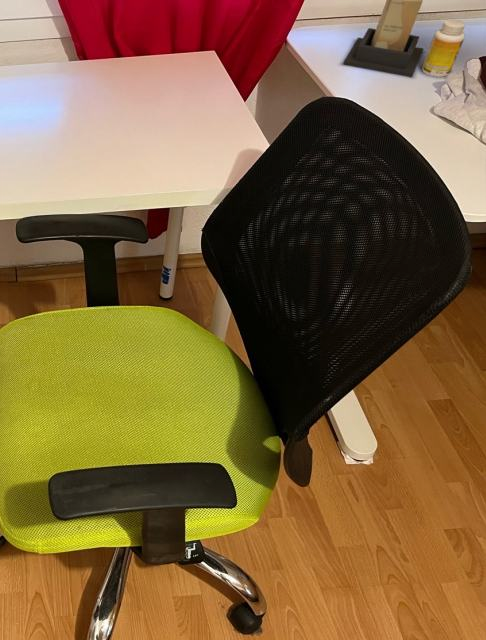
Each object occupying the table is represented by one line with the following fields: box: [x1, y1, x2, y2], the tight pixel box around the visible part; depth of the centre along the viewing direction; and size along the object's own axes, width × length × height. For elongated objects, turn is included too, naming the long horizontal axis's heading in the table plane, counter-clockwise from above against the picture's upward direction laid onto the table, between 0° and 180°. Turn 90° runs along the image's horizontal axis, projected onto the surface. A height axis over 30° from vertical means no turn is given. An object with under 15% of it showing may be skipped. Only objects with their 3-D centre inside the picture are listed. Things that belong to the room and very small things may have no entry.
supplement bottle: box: [421, 18, 466, 78], centre depth 142 cm, size 6×6×10 cm
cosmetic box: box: [371, 0, 423, 52], centre depth 145 cm, size 6×4×12 cm
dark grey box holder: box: [343, 27, 425, 78], centre depth 149 cm, size 14×14×4 cm
